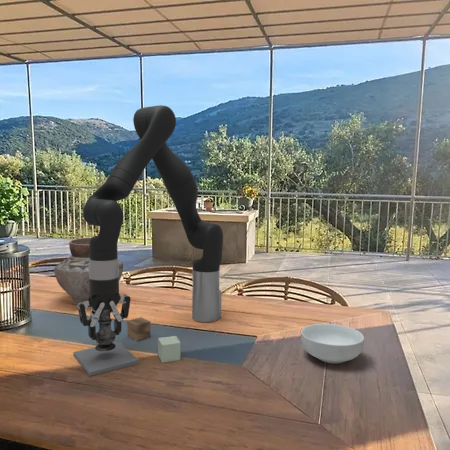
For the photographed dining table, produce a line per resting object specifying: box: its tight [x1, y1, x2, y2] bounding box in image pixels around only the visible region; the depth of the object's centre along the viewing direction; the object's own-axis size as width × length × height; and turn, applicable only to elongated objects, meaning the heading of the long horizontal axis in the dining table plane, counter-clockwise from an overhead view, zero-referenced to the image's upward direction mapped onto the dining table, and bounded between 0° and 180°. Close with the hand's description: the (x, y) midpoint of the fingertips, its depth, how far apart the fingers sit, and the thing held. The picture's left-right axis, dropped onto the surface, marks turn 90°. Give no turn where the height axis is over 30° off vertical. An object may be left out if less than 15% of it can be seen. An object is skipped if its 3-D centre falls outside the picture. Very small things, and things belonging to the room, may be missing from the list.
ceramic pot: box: [53, 237, 124, 308], centre depth 163 cm, size 25×25×24 cm
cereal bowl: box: [300, 323, 365, 364], centre depth 120 cm, size 17×17×7 cm
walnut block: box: [126, 316, 151, 342], centre depth 132 cm, size 5×5×5 cm
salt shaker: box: [94, 310, 117, 351], centre depth 115 cm, size 6×6×12 cm
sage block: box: [157, 335, 181, 363], centre depth 118 cm, size 5×5×5 cm
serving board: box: [73, 341, 140, 377], centre depth 116 cm, size 13×14×1 cm
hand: (105, 336), depth 115 cm, fingers closed on salt shaker, 6 cm apart
